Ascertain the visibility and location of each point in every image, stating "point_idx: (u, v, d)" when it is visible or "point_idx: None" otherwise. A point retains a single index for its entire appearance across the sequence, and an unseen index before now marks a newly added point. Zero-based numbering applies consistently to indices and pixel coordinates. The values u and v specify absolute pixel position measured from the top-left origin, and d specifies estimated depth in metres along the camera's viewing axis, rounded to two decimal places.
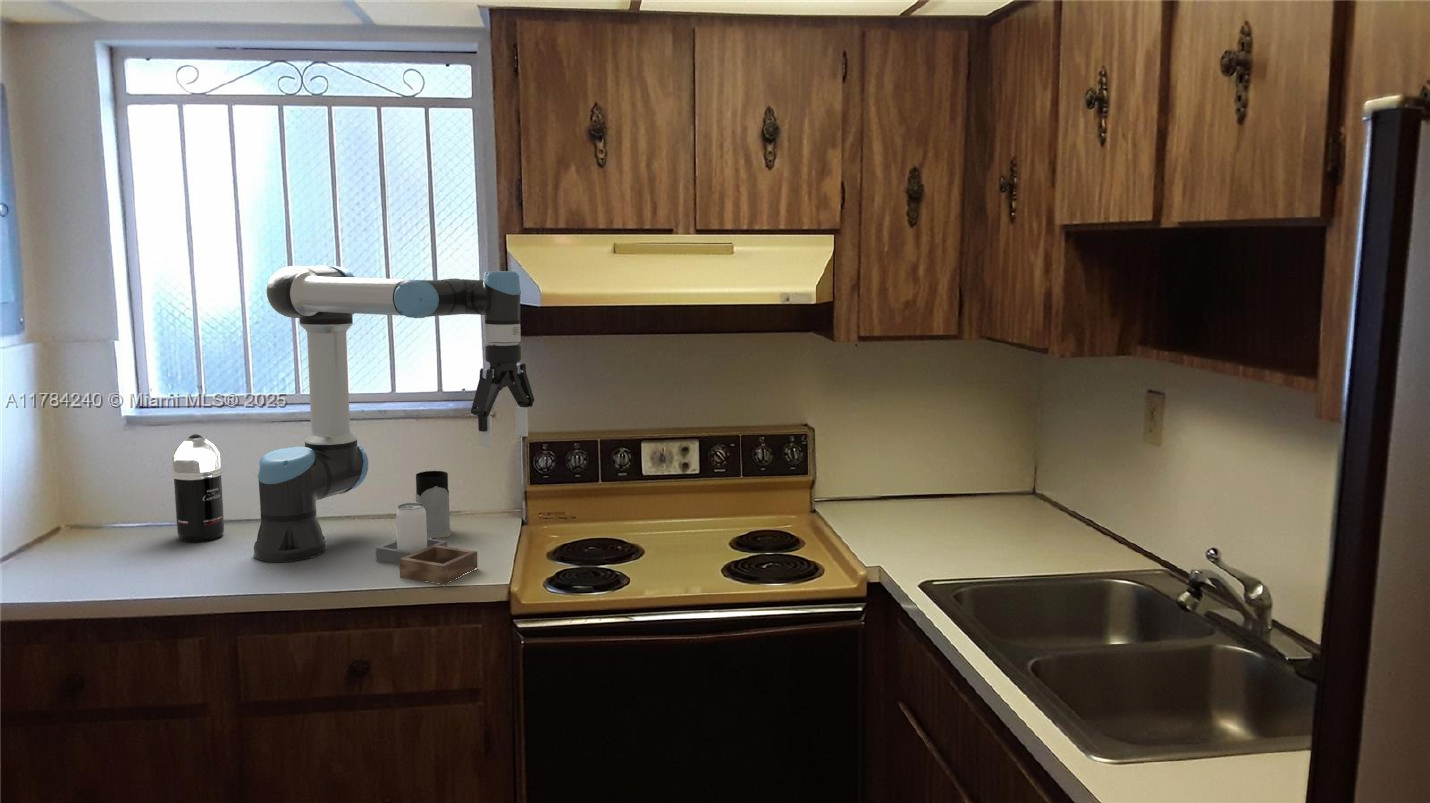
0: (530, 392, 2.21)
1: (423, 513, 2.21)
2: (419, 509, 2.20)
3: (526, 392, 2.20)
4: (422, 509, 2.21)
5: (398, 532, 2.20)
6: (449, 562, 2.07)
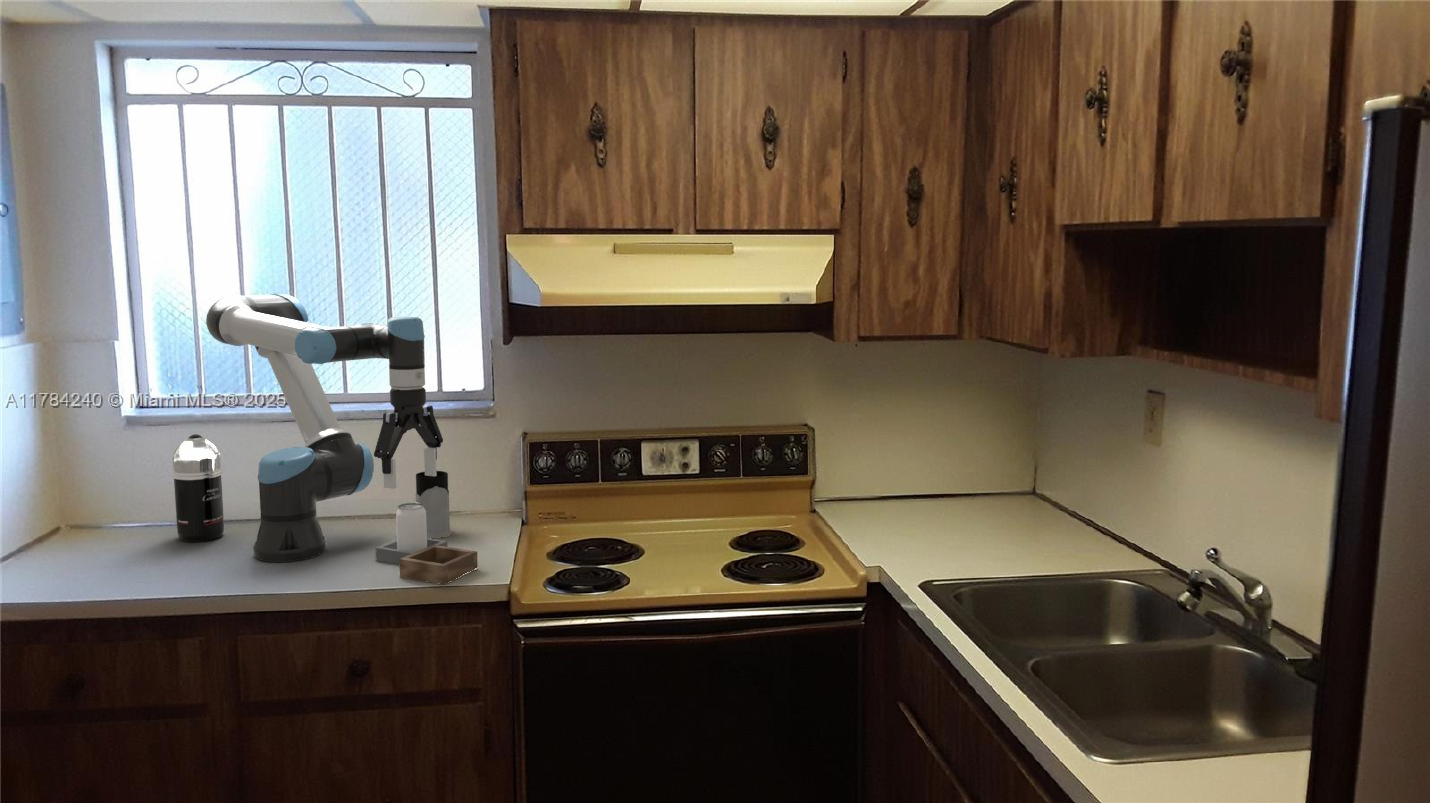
0: (438, 433, 2.27)
1: (423, 513, 2.21)
2: (419, 509, 2.20)
3: (434, 433, 2.26)
4: (422, 509, 2.21)
5: (398, 532, 2.20)
6: (449, 562, 2.07)
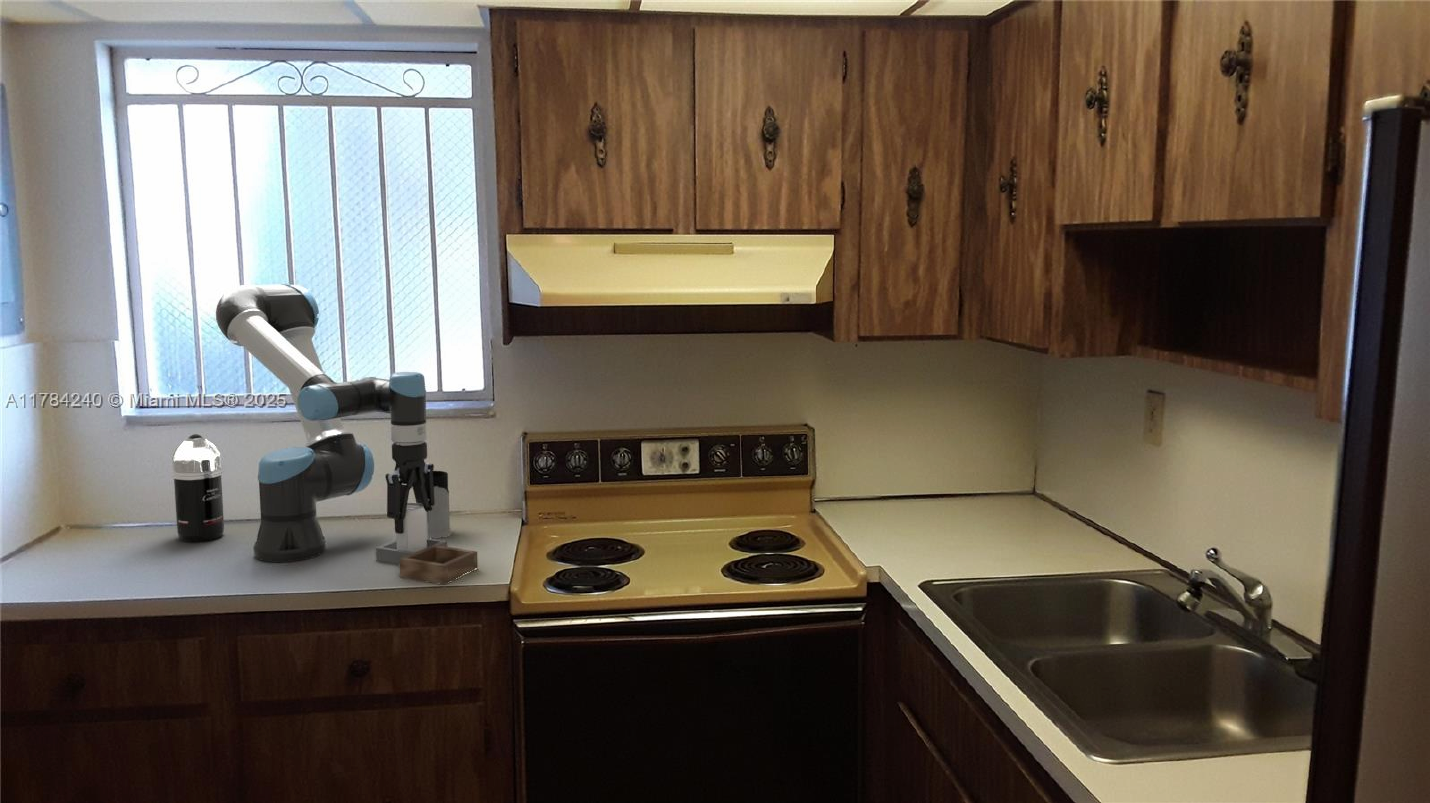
0: (432, 494, 2.26)
1: (423, 513, 2.21)
2: (419, 509, 2.20)
3: (428, 493, 2.26)
4: (422, 509, 2.21)
5: None
6: (449, 562, 2.07)
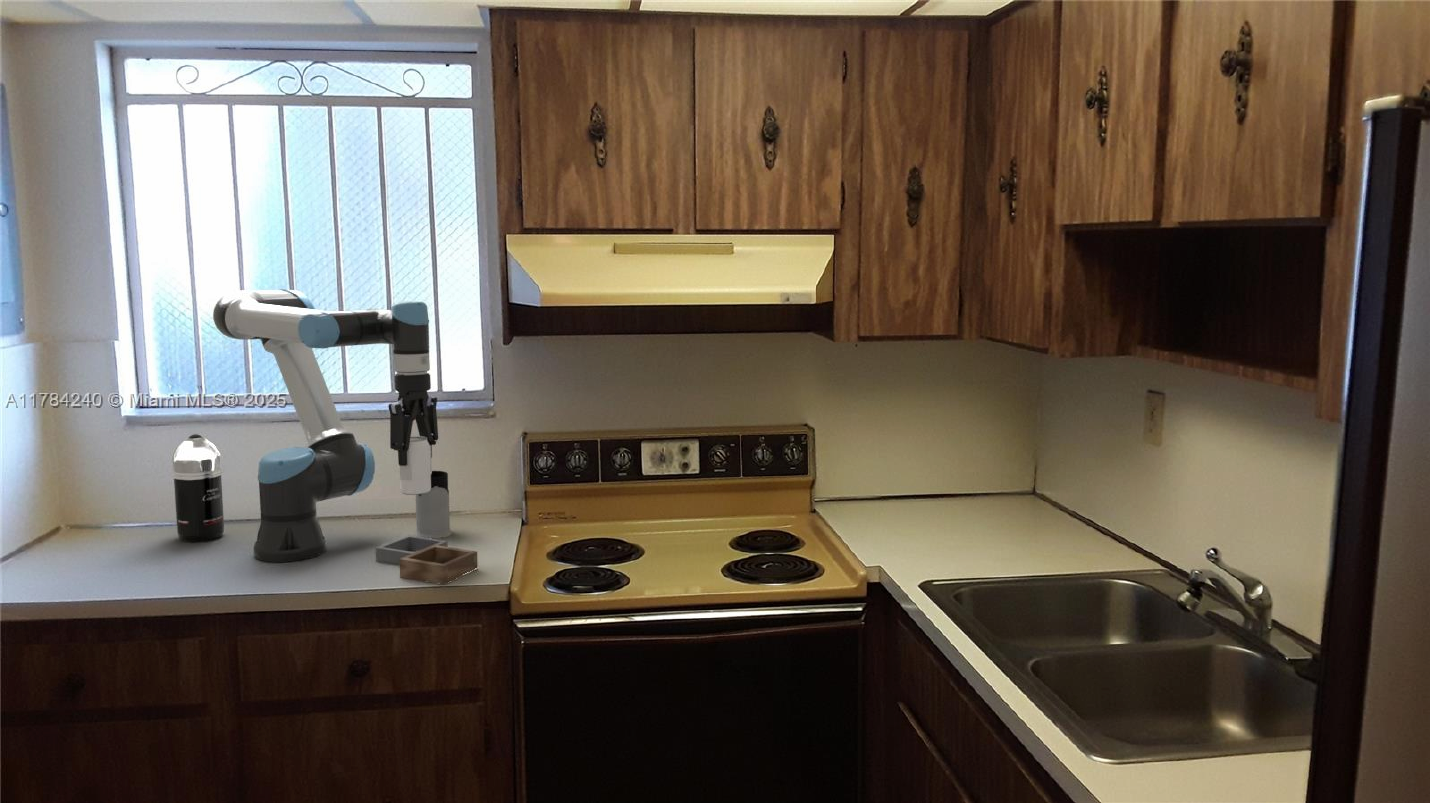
0: (436, 428, 2.22)
1: (426, 446, 2.16)
2: (422, 441, 2.16)
3: (432, 427, 2.22)
4: (425, 442, 2.16)
5: None
6: (449, 562, 2.07)
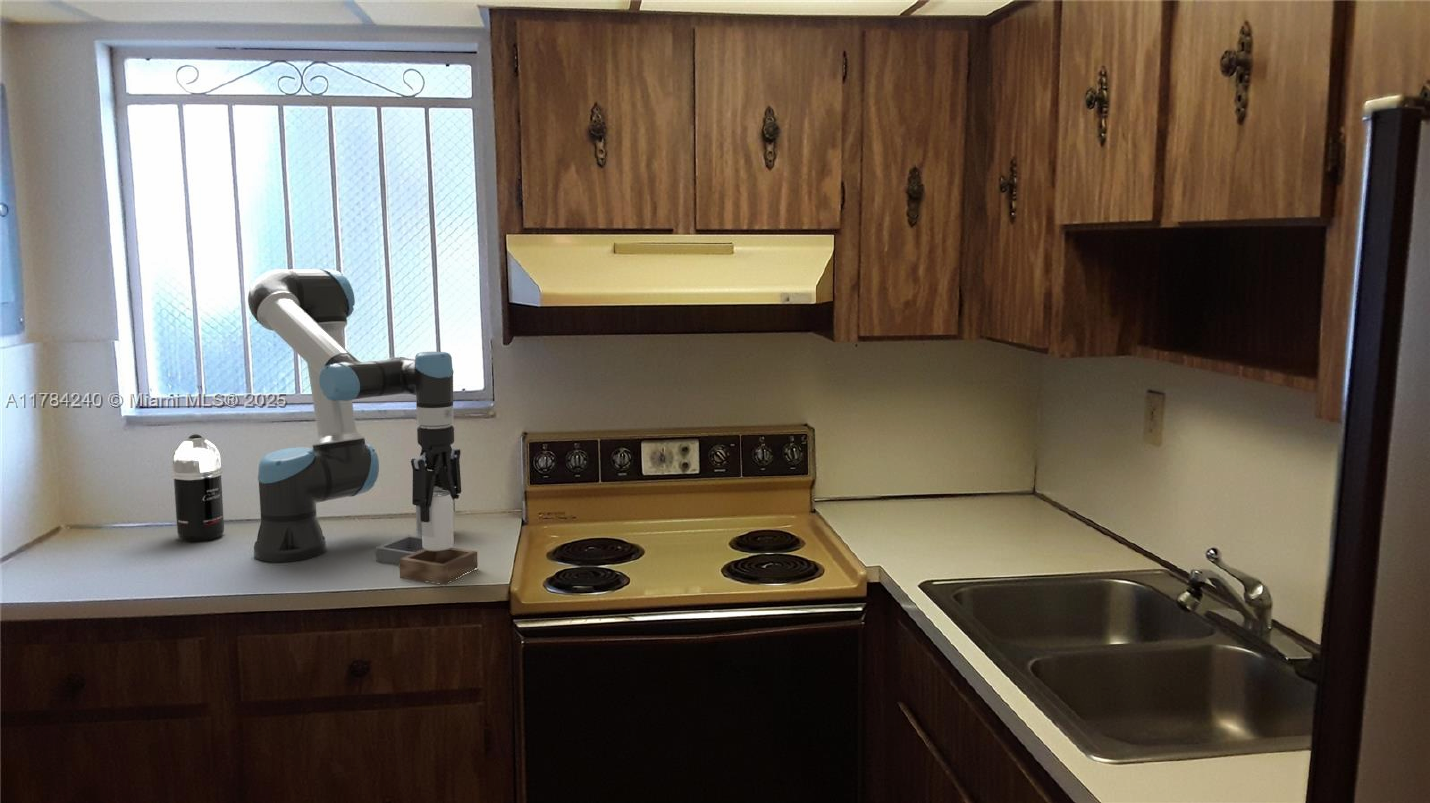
0: (459, 481, 2.15)
1: (450, 501, 2.09)
2: (445, 496, 2.08)
3: (454, 480, 2.14)
4: (448, 496, 2.09)
5: None
6: (449, 562, 2.07)
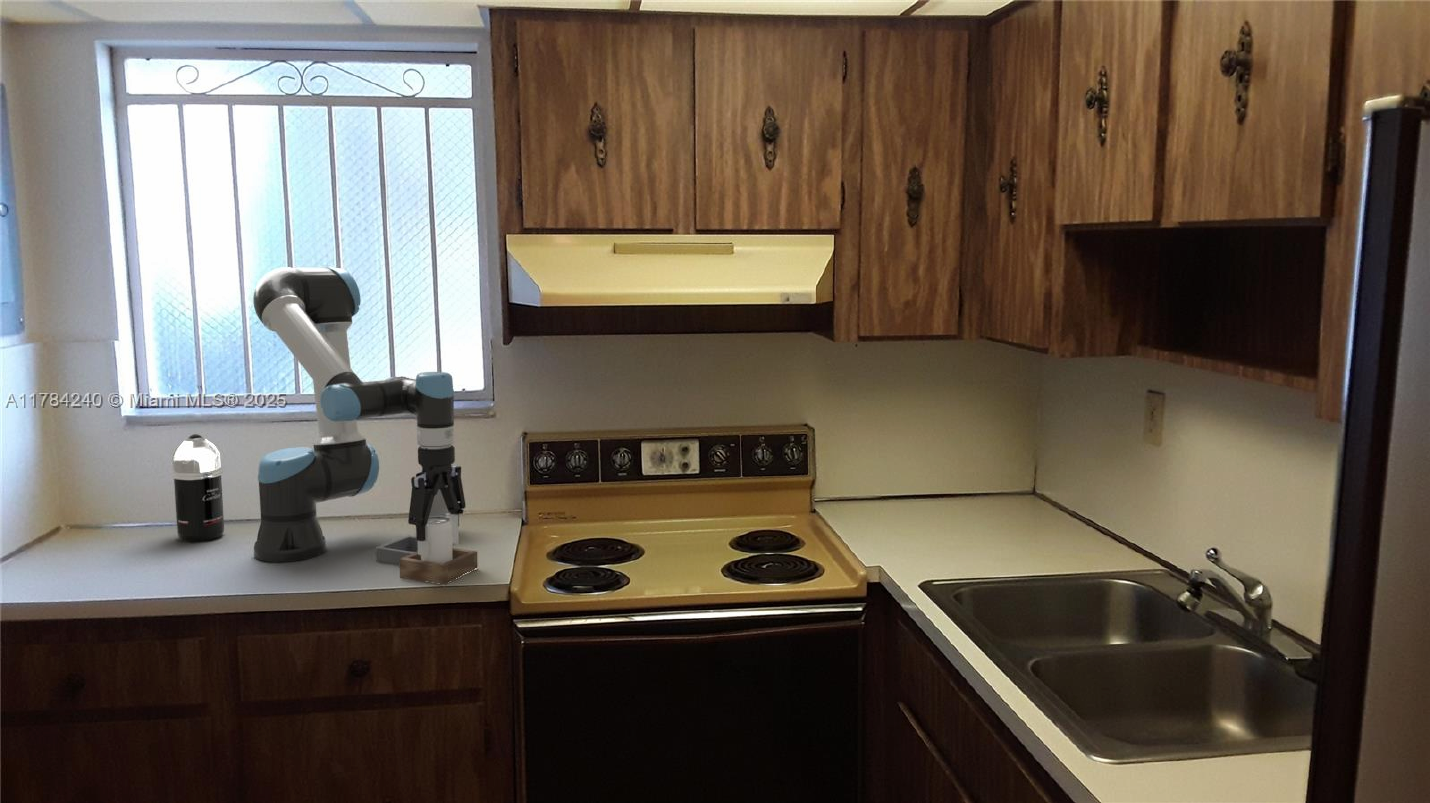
0: (462, 497, 2.16)
1: (448, 528, 2.10)
2: (444, 523, 2.09)
3: (458, 497, 2.16)
4: (447, 523, 2.10)
5: None
6: (449, 562, 2.07)
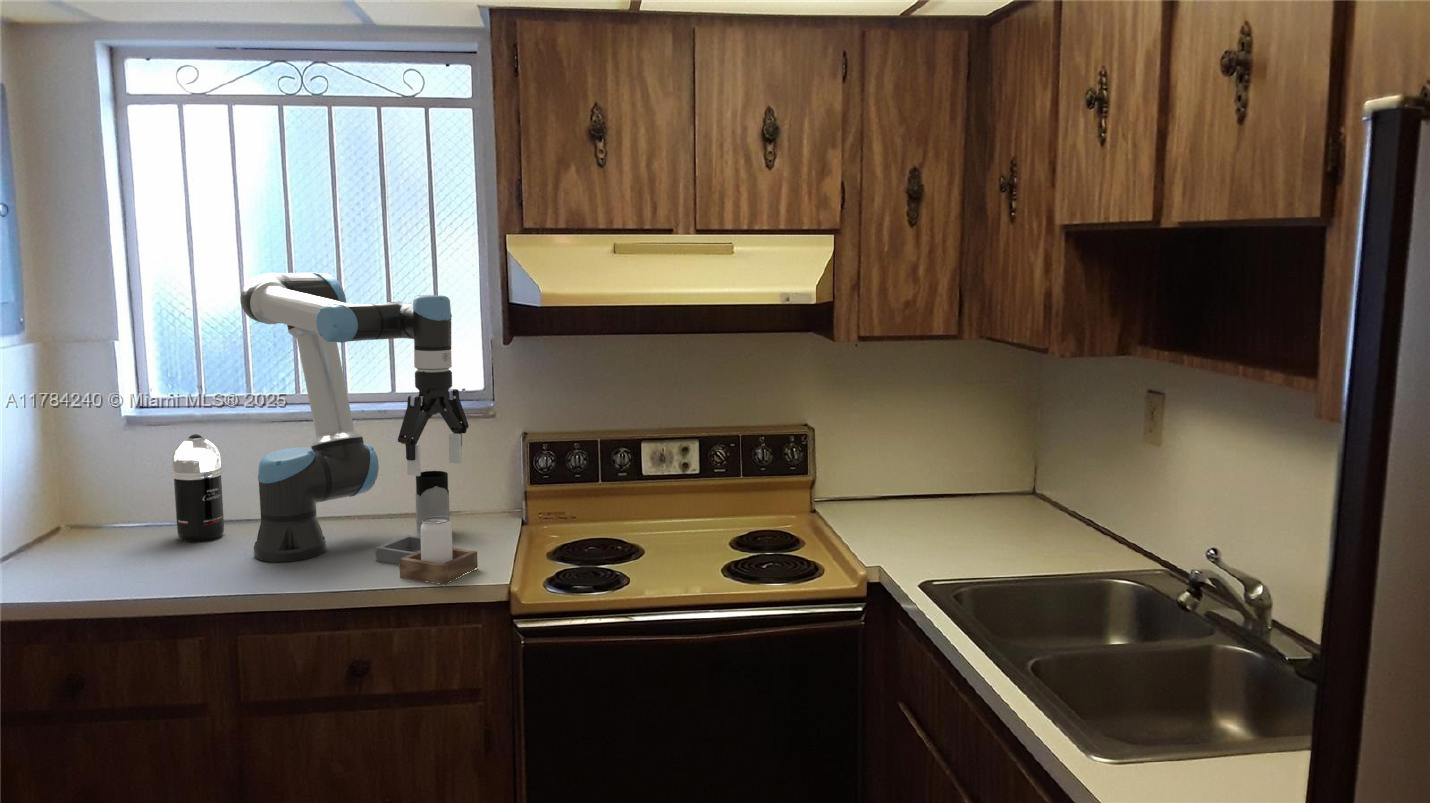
0: (464, 418, 2.16)
1: (448, 528, 2.10)
2: (444, 523, 2.09)
3: (460, 418, 2.15)
4: (447, 523, 2.10)
5: (423, 547, 2.09)
6: (449, 562, 2.07)
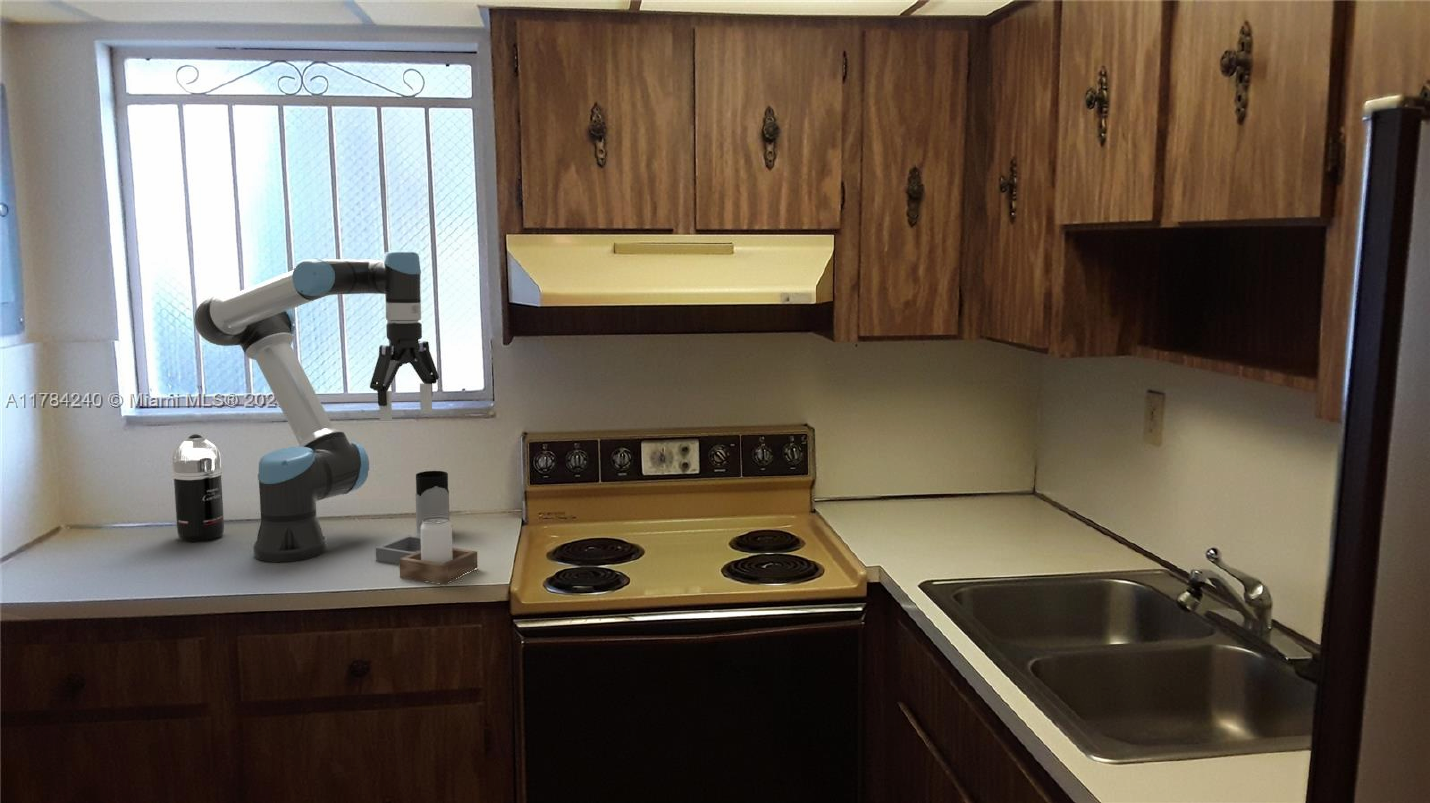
0: (434, 369, 2.28)
1: (448, 528, 2.10)
2: (444, 523, 2.09)
3: (430, 369, 2.28)
4: (447, 523, 2.10)
5: (423, 547, 2.09)
6: (449, 562, 2.07)
